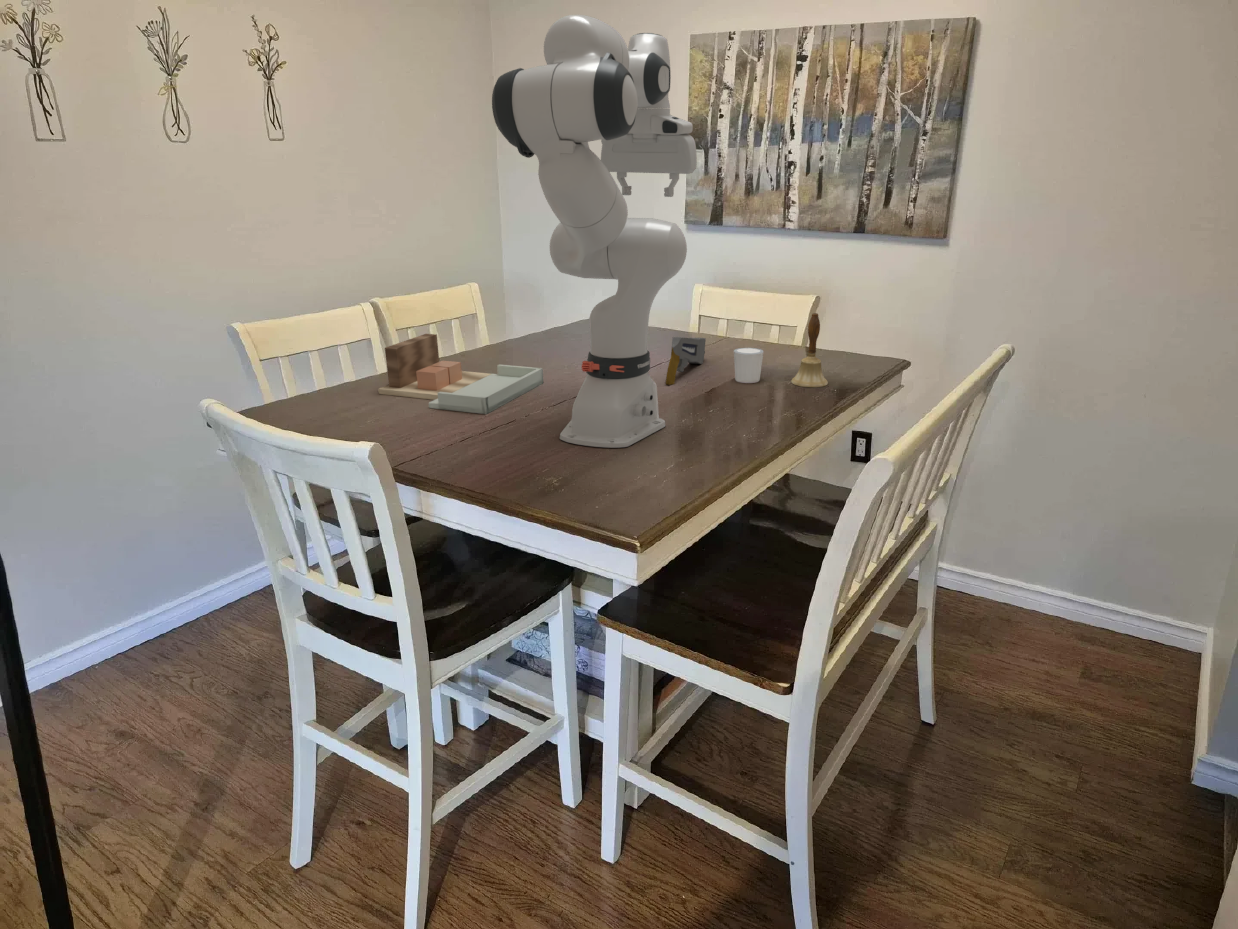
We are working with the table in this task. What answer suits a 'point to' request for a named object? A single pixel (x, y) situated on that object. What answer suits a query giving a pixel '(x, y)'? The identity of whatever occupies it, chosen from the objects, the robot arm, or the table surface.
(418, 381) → the terracotta block
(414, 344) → the bar
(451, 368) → the terracotta square block
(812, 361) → the hand bell
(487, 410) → the tray
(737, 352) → the white tapered cylinder
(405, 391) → the board
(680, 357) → the gun
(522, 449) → the table surface
